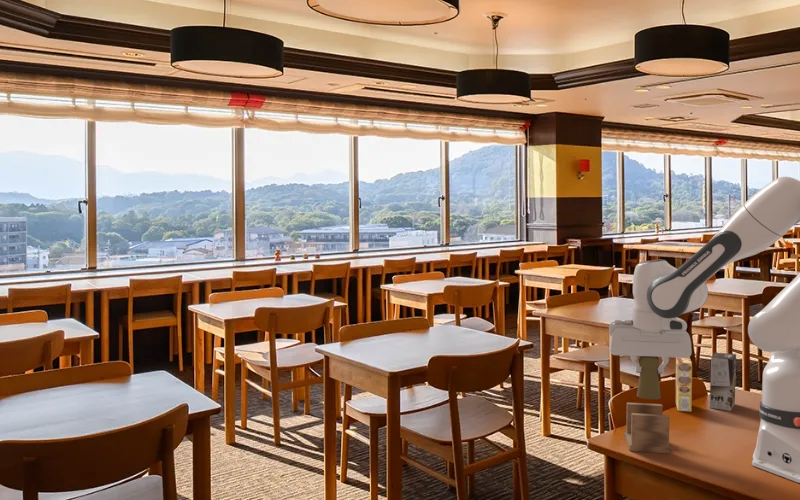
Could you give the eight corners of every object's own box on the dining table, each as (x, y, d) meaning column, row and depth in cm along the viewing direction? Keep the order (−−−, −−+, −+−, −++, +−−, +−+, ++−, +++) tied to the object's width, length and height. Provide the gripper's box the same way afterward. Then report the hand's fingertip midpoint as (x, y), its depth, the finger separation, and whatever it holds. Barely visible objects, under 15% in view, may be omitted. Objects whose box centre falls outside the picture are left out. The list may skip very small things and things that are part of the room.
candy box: (692, 412, 204) (693, 362, 203) (677, 411, 206) (678, 361, 205) (688, 404, 213) (689, 356, 212) (674, 403, 214) (675, 355, 213)
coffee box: (731, 411, 205) (733, 359, 204) (708, 408, 209) (710, 356, 208) (735, 404, 213) (737, 353, 212) (713, 400, 216) (714, 351, 215)
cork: (662, 400, 174) (663, 358, 173) (638, 398, 175) (638, 357, 175) (658, 393, 180) (659, 353, 179) (635, 392, 181) (635, 352, 180)
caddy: (662, 438, 181) (663, 404, 181) (670, 453, 171) (671, 417, 170) (624, 436, 183) (624, 402, 183) (629, 450, 173) (630, 414, 172)
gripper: (609, 321, 175) (609, 373, 176) (693, 324, 171) (692, 377, 172) (607, 317, 181) (607, 368, 182) (688, 320, 177) (687, 371, 178)
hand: (649, 372), depth 177 cm, fingers closed on cork, 4 cm apart
